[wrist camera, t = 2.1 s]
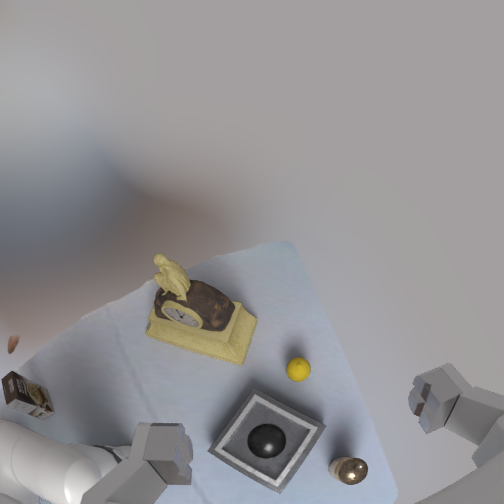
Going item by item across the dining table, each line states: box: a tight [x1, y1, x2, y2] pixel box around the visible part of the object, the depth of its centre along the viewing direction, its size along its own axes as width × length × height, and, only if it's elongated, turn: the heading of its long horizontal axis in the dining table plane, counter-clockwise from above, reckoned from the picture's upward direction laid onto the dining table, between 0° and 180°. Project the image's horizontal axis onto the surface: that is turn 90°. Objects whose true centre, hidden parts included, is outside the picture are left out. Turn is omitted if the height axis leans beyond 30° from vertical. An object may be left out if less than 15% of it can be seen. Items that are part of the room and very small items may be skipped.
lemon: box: [286, 357, 311, 382], centre depth 62 cm, size 6×6×8 cm
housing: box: [208, 388, 326, 494], centre depth 52 cm, size 18×18×8 cm
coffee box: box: [2, 371, 54, 420], centre depth 55 cm, size 9×6×16 cm
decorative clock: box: [145, 253, 257, 366], centre depth 64 cm, size 28×13×30 cm, turn 73°
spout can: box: [329, 457, 368, 485], centre depth 42 cm, size 6×6×16 cm
